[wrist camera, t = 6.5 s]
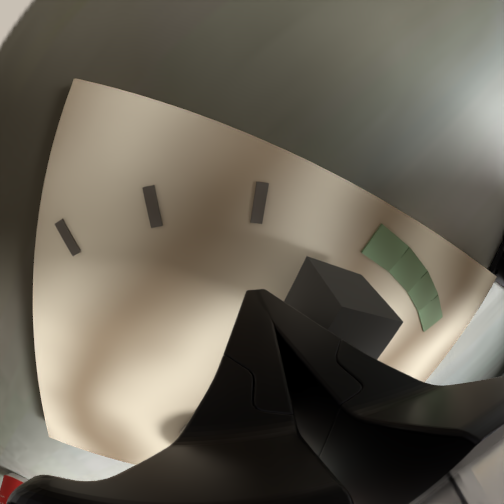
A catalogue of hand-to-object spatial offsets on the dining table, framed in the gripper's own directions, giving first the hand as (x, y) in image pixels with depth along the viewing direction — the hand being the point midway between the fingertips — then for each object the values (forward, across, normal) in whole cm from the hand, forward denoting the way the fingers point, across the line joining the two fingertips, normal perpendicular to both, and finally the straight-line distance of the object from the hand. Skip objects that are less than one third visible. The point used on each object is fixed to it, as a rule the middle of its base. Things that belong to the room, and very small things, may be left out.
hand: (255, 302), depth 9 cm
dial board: (+4, -1, +8) cm, 8 cm away
